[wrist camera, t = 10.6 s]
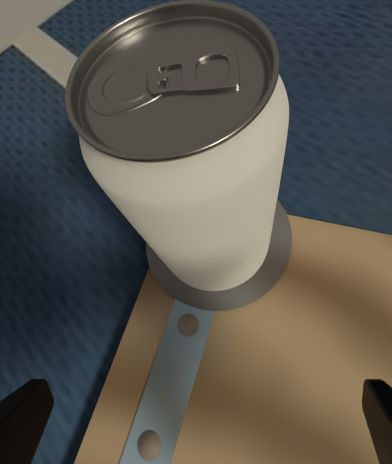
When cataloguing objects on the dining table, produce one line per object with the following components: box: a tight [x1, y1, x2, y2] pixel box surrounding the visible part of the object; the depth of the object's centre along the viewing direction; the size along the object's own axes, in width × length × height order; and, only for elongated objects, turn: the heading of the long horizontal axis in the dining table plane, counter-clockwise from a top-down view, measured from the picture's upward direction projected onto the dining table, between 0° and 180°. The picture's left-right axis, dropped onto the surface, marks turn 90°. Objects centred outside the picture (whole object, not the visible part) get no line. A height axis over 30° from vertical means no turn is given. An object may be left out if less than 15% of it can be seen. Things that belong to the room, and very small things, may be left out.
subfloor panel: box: [74, 200, 392, 464], centre depth 15 cm, size 26×21×1 cm
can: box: [65, 0, 289, 291], centre depth 13 cm, size 6×6×12 cm
